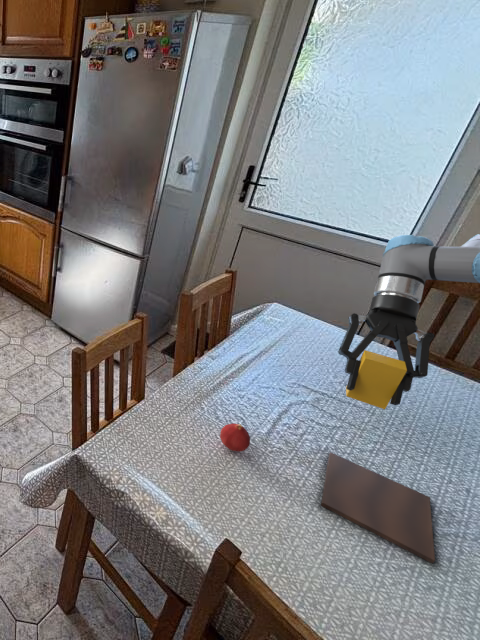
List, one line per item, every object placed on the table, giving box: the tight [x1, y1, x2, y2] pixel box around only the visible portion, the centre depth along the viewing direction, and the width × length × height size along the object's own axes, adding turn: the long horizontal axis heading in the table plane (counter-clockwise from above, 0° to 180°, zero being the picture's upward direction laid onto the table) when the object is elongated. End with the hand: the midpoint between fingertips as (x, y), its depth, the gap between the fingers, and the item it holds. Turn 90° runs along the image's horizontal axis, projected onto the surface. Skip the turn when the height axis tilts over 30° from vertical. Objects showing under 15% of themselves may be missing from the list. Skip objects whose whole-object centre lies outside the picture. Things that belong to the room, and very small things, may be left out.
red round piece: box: [219, 422, 251, 452], centre depth 95 cm, size 6×6×8 cm
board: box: [320, 452, 436, 564], centre depth 84 cm, size 16×16×1 cm
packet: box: [345, 349, 407, 410], centre depth 90 cm, size 6×4×11 cm, turn 52°
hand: (372, 396), depth 89 cm, fingers closed on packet, 6 cm apart
